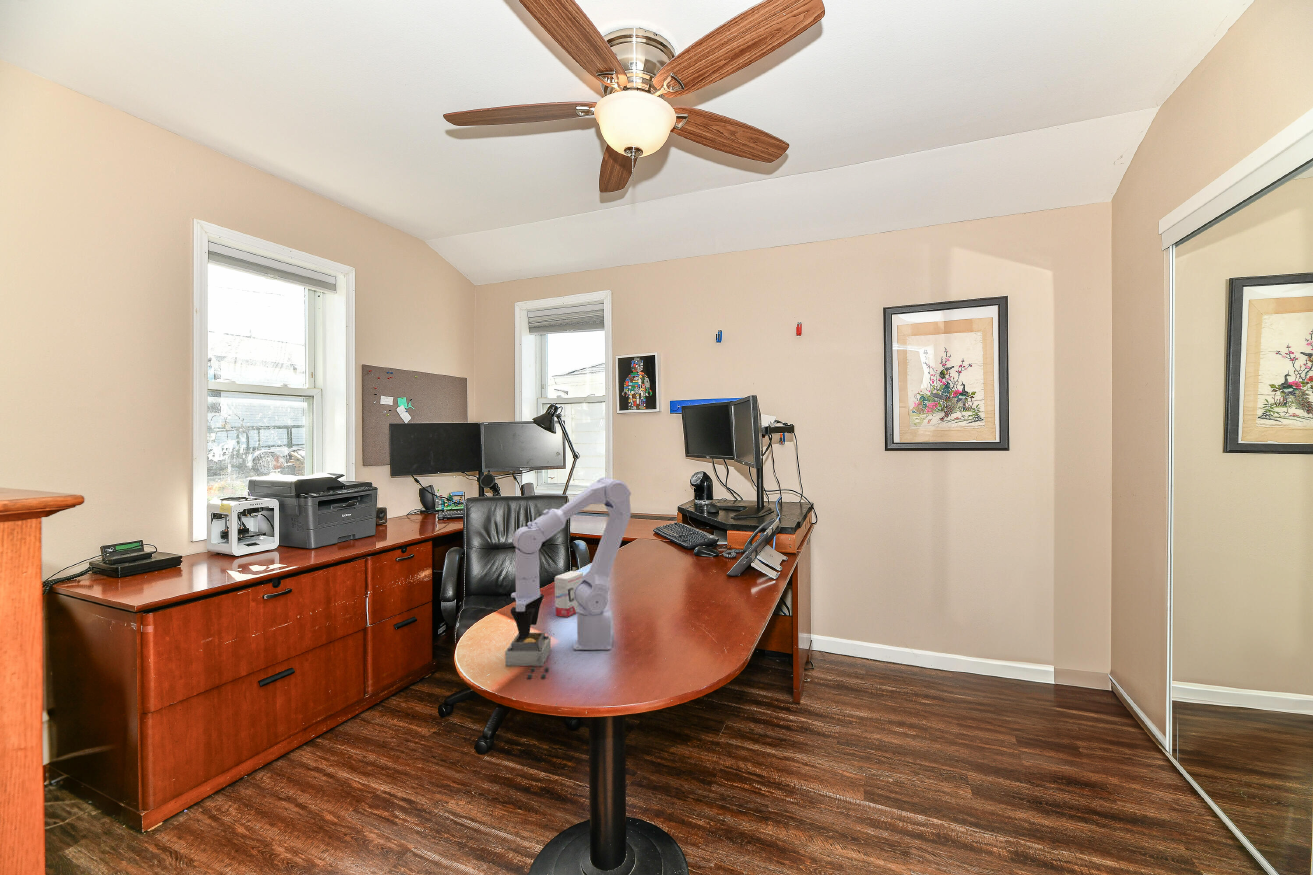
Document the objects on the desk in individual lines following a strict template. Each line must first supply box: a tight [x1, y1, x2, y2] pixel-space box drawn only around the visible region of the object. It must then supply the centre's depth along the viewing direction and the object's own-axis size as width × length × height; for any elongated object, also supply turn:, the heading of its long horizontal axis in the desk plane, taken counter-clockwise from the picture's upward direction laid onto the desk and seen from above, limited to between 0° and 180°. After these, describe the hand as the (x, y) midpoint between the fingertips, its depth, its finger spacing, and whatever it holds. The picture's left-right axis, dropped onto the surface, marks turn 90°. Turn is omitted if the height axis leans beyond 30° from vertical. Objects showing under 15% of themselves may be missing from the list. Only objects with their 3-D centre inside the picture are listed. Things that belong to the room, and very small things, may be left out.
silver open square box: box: [504, 632, 552, 667], centre depth 132 cm, size 9×9×5 cm
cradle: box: [526, 666, 550, 680], centre depth 123 cm, size 4×4×1 cm
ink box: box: [554, 570, 584, 618], centre depth 164 cm, size 9×5×12 cm, turn 150°
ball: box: [523, 638, 536, 642], centre depth 133 cm, size 4×4×4 cm
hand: (528, 630), depth 132 cm, fingers open, 7 cm apart
